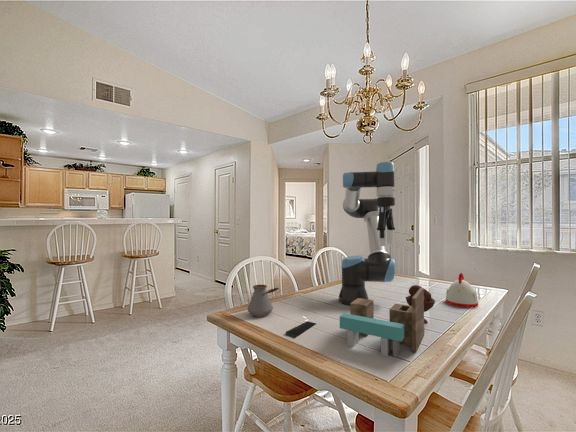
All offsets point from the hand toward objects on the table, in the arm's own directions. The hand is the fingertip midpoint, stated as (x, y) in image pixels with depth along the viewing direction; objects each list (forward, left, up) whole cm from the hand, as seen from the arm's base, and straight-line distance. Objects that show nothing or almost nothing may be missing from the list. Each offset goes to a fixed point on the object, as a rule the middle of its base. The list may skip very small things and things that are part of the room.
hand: (386, 245), depth 127 cm
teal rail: (+4, -37, -30) cm, 48 cm away
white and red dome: (+26, +38, -32) cm, 56 cm away
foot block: (-3, -25, -31) cm, 40 cm away
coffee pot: (-45, -30, -31) cm, 62 cm away
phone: (-23, -34, -32) cm, 52 cm away
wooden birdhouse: (+12, -25, -31) cm, 42 cm away
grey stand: (+4, -37, -31) cm, 49 cm away
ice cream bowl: (+13, 0, -31) cm, 34 cm away
